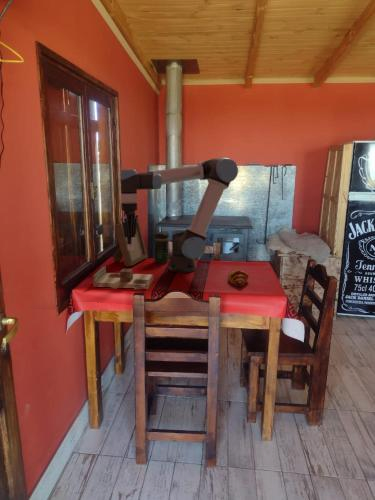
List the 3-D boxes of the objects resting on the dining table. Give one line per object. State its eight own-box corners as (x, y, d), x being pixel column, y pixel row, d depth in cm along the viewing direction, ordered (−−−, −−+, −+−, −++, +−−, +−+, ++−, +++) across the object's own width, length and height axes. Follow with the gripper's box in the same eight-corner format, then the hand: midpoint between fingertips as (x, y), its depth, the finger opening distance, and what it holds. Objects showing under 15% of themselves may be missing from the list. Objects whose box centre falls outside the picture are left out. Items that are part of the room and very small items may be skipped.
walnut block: (132, 278, 177) (132, 269, 175) (130, 282, 172) (130, 272, 171) (123, 278, 177) (122, 268, 176) (120, 281, 172) (119, 271, 171)
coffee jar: (165, 264, 212) (165, 233, 207) (153, 263, 214) (152, 232, 209) (170, 260, 221) (170, 230, 217) (158, 259, 223) (158, 230, 218)
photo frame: (147, 258, 225) (146, 218, 219) (131, 267, 205) (129, 224, 199) (126, 256, 230) (125, 217, 224) (109, 265, 210) (106, 223, 204)
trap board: (153, 279, 184) (153, 268, 183) (147, 289, 169) (146, 277, 167) (104, 277, 187) (103, 266, 185) (93, 287, 171) (93, 275, 170)
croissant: (229, 281, 193) (223, 268, 191) (246, 273, 192) (240, 260, 190) (234, 294, 172) (227, 280, 171) (253, 285, 171) (246, 271, 170)
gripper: (128, 200, 178) (130, 246, 183) (115, 203, 166) (117, 252, 171) (142, 201, 176) (143, 248, 181) (129, 204, 164) (131, 253, 169)
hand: (130, 250), depth 176 cm, fingers closed
